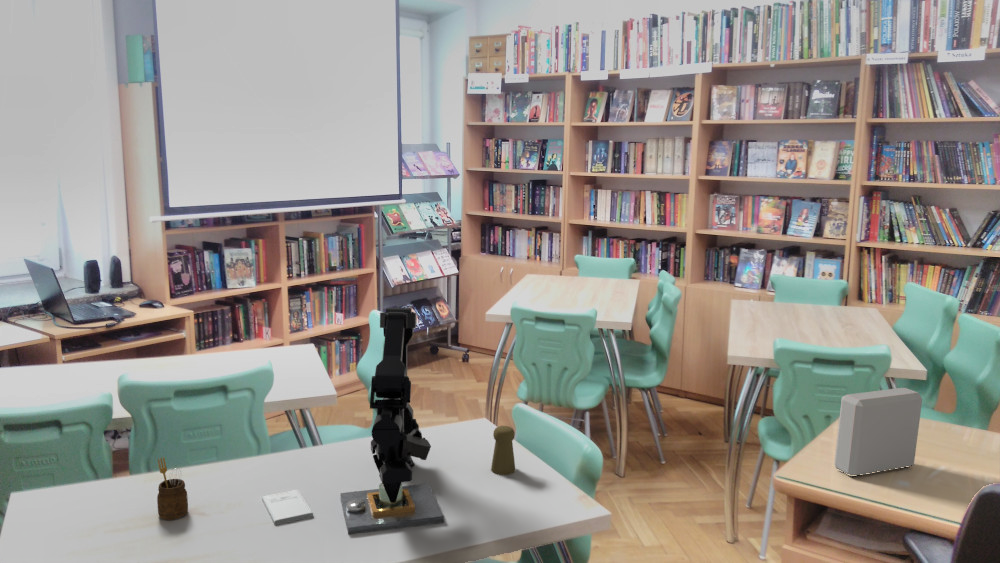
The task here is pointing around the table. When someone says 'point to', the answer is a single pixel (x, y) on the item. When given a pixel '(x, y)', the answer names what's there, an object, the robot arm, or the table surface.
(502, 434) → the cork
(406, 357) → the robot arm
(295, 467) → the table surface
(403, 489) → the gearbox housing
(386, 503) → the can
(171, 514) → the utensil holder
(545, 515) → the table surface
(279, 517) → the external hard drive
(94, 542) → the table surface
